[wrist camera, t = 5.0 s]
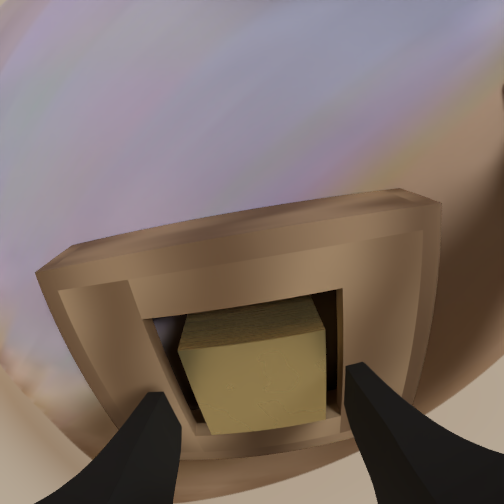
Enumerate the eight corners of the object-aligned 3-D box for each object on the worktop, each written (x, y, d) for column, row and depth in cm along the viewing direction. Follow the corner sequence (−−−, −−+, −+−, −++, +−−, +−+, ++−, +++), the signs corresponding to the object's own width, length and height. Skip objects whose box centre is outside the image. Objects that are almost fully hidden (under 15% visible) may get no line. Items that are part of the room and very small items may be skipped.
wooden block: (301, 275, 12) (325, 329, 9) (307, 358, 14) (325, 419, 10) (194, 291, 12) (177, 350, 9) (216, 371, 14) (211, 434, 10)
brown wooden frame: (399, 188, 11) (441, 203, 8) (388, 384, 15) (407, 420, 12) (72, 245, 11) (34, 272, 9) (150, 419, 15) (140, 458, 12)
